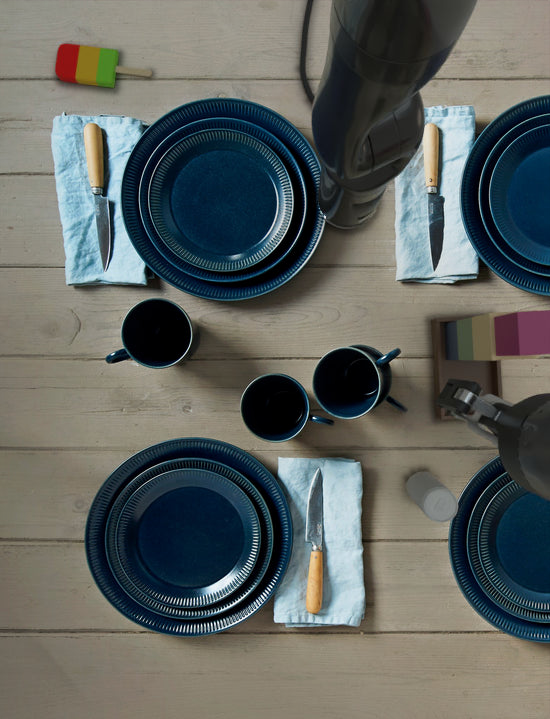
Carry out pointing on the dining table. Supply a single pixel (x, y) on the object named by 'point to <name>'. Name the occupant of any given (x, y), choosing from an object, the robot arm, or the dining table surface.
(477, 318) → the block tower
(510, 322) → the mulberry block
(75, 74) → the popsicle
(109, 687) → the dining table surface
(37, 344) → the dining table surface
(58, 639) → the dining table surface
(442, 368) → the tray
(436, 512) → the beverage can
